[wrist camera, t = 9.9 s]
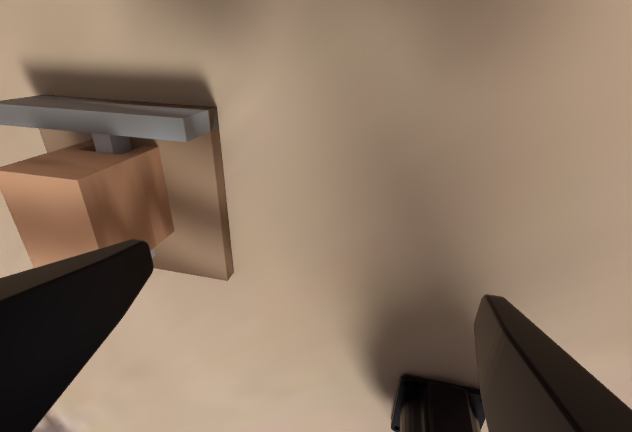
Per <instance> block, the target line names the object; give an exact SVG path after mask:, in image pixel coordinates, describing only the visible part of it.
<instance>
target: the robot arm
mask: <svg viewBox="0 0 632 432" xmlns="http://www.w3.org/2000/svg"><path fill="white" fill-rule="evenodd" d="M153 268H154V264H153V260H152V256H151V251H150V247H149V244H148V243H147V242H146V241H143V240H136V239H131V240H127V241H124V242H121V243H117V244H114V245H111V246H107V247H104V248H100V249H97V250H94V251H90V252H87V253H84V254H80V255H77V256H74V257H70V258H67V259H64V260H60V261H57V262H53V263H50V264H47V265H43V266H40V267H37V268H33V269H30V270H27V271H23V272H20V273H17V274H13V275H10V276H6V277H3V278H0V432H32V431H33V430H34V429H35V427H36V426H37V425H38V423H39V422H40V421H41V420H42V418H43V417H44V416H45V415H46V413H47V412H48V411H49V410H50V408H51V407H52V406H53V405H54V403H55V402H56V401H57V400H58V398H59V397H60V396H61V395H62V393H63V392H64V391H65V390H66V388H67V387H68V386H69V385H70V383H71V382H72V381H73V380H74V378H75V377H76V376H77V375H78V373H79V372H80V371H81V370H82V368H83V367H84V366H85V364H86V363H87V362H88V361H89V359H90V358H91V357H92V356H93V354H94V353H95V352H96V351H97V349H98V348H99V347H100V346H101V344H102V343H103V342H104V341H105V339H106V338H107V337H108V336H109V334H110V333H111V332H112V331H113V329H114V328H115V327H116V326H117V324H118V323H119V322H120V320H121V319H122V318H123V316H124V315H125V313H126V312H127V311H128V309H129V308H130V306H131V304H132V303H133V301H134V300H135V298H136V297H137V295H138V294H139V292H140V291H141V289H142V288H143V286H144V285H145V283H146V282H147V280H148V278H149V277H150V275H151V274H152V272H153ZM474 334H475V345H476V355H477V365H478V376H479V385H480V390H477V389H472V388H467V387H462V386H457V385H453V384H448V383H443V382H438V381H433V380H429V379H424V378H419V377H414V376H410V375H403V376H401V378H400V381H399V386H398V391H397V396H396V401H395V406H394V411H393V415H392V420H391V429H392V430H393V431H395V432H481V431H480V430H481V428H482V425H483V423H484V420H485V418H486V421H487V426H488V430H489V432H632V410H631V409H630V408H629V407H628V406H627V405H626V404H625V403H623V402H622V401H621V400H620V399H619V398H618V397H617V396H615V395H614V394H613V393H612V392H611V391H610V390H609V389H607V388H606V387H605V386H604V385H603V384H602V383H601V382H600V381H598V380H597V379H596V378H595V377H594V376H593V375H592V374H590V373H589V372H588V371H587V370H586V369H585V368H584V367H582V366H581V365H580V364H579V363H578V362H577V361H576V360H574V359H573V358H572V357H571V356H570V355H569V354H568V353H567V352H565V351H564V350H563V349H562V348H561V347H560V346H559V345H557V344H556V343H555V342H554V341H553V340H552V339H551V338H549V337H548V336H547V335H546V334H545V333H544V332H543V331H542V330H540V329H539V328H538V327H537V326H536V325H535V324H534V323H532V322H531V321H530V320H529V319H528V318H527V317H526V316H524V315H523V314H522V313H521V312H520V311H519V310H518V309H516V308H515V307H514V306H513V305H512V304H511V303H510V302H509V301H507V300H506V299H505V298H504V297H501V296H494V295H488V294H486V295H484V296H483V297H482V299H481V302H480V306H479V309H478V312H477V315H476V318H475V323H474Z"/></svg>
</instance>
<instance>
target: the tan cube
mask: <svg viewBox="0 0 632 432" xmlns="http://www.w3.org/2000/svg"><path fill="white" fill-rule="evenodd" d="M0 190H1V192H2V194H3V197H4V199H5V201H6V204H7V206H8V208H9V211H10V213H11V215H12V218H13V220H14V222H15V225H16V227H17V229H18V232H19V234H20V236H21V239H22V241H23V243H24V246H25V248H26V250H27V253H28V255H29V257H30V260H31V262H32V264H33V267H34V268H37V267H40V266H43V265H47V264H50V263H53V262H57V261H60V260H64V259H67V258H70V257H74V256H77V255H80V254H84V253H87V252H90V251H94V250H97V249H100V248H104V247H107V246H111V245H114V244H117V243H121V242H124V241H127V240H131V239H136V240H143V241H146V242H147V243H148V244H149V247H150V251H151V250H152V249H153V248H155V247H156V246H157V245H158V244H159V243H161V242H162V241H163V240H164V239H166V238H167V237H168V236H169V235H171V234H172V233H173V232H174V226H173V221H172V215H171V210H170V205H169V199H168V194H167V189H166V183H165V178H164V173H163V167H162V162H161V157H160V151H159V147H155V146H145V145H144V146H142V147H139V148H137V149H134V150H131V151H129V152H126V153H124V154H113V153H103V152H96V149H95V145H94V141H93V140H89V141H86V142H82V143H79V144H76V145H72V146H69V147H66V148H63V149H59V150H56V151H53V152H49V153H46V154H43V155H39V156H36V157H33V158H29V159H26V160H23V161H19V162H16V163H13V164H9V165H6V166H3V167H0Z"/></svg>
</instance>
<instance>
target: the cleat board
mask: <svg viewBox="0 0 632 432" xmlns="http://www.w3.org/2000/svg"><path fill="white" fill-rule="evenodd" d="M0 125H9V126H20V127H30V128H39V130H40V133H41V136H42V139H43V142H44V145H45V148H46V151H47V153H49V152H53V151H56V150H59V149H63V148H66V147H69V146H72V145H76V144H79V143H82V142H86V141H89V140H93V141H94V145H95V149H96V152H103V153H113V154H124V153H126V152H129V151H131V150H134V149H137V148H139V147H142V146H144V145H145V146H155V147H159V151H160V157H161V162H162V167H163V173H164V178H165V183H166V189H167V194H168V199H169V205H170V210H171V215H172V221H173V226H174V232H173V233H172V234H171V235H169V236H168V237H167V238H166V239H164V240H163V241H162V242H161V243H159V244H158V245H157V246H156V247H155V248H153V249H152V250H151V256H152V260H153V264H154V268H157V269H163V270H168V271H174V272H180V273H186V274H191V275H197V276H203V277H208V278H214V279H220V280H226V281H228V280H229V278H230V277H231V276H232V274H233V273H234V272H233V262H232V253H231V243H230V233H229V223H228V214H227V204H226V194H225V184H224V174H223V165H222V155H221V145H220V135H219V126H218V116H217V107H205V106H191V105H176V104H162V103H148V102H134V101H120V100H106V99H92V98H77V97H63V96H49V95H40V96H32V97H25V98H18V99H10V100H3V101H0Z"/></svg>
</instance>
